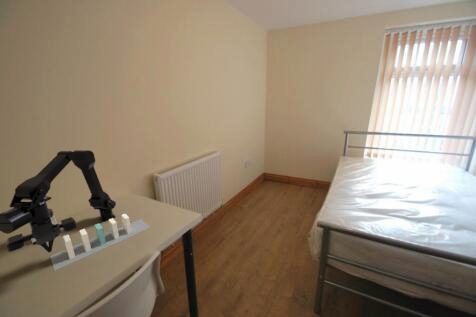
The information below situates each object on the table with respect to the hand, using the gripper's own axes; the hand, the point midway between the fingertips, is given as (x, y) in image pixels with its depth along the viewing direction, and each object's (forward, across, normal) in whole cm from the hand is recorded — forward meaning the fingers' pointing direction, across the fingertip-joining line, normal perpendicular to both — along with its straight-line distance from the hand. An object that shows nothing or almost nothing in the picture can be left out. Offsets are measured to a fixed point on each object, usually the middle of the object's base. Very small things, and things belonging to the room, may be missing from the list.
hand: (50, 251), depth 80 cm
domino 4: (+5, +22, 0) cm, 23 cm away
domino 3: (+5, +17, 0) cm, 17 cm away
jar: (+6, +1, +24) cm, 25 cm away
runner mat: (+6, +18, 0) cm, 19 cm away
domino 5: (+5, +28, 0) cm, 28 cm away
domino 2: (+5, +11, 0) cm, 12 cm away
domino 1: (+5, +6, 0) cm, 8 cm away
